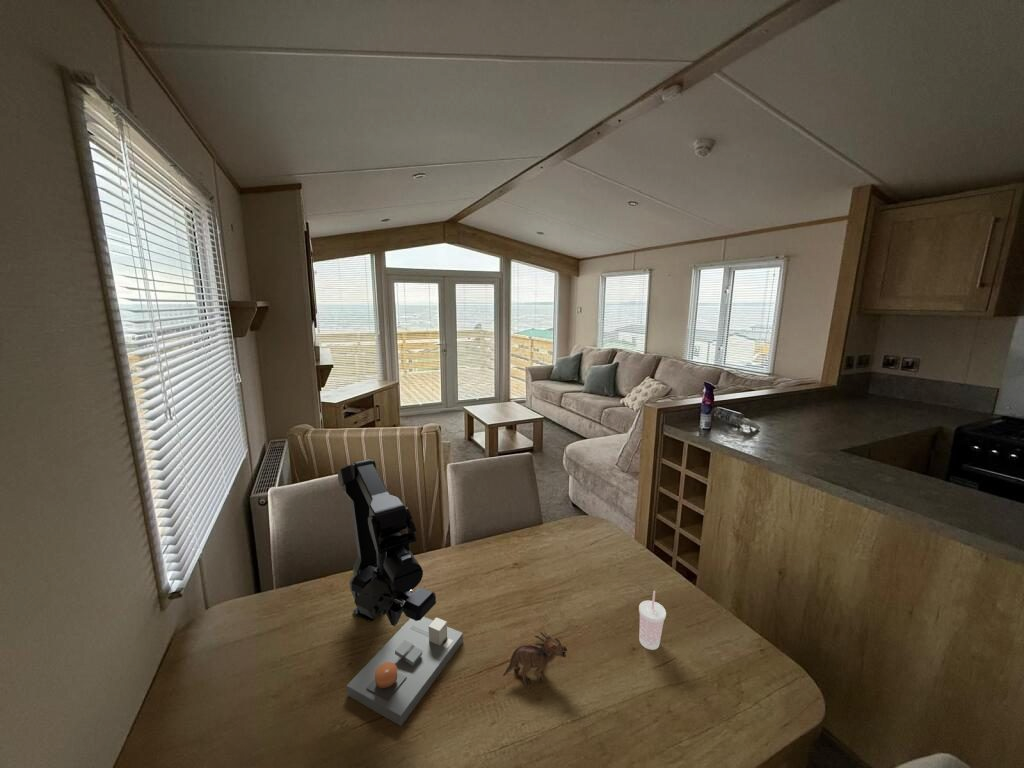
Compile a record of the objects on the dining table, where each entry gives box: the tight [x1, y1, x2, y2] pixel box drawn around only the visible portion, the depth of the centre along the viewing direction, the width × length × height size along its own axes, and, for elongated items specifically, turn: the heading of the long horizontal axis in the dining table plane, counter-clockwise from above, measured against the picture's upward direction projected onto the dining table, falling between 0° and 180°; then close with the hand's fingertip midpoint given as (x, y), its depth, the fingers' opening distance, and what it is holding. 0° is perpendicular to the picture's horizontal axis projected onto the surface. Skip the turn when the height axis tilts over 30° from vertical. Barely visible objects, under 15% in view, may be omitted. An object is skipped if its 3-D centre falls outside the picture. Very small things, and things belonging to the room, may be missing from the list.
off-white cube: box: [429, 617, 448, 646], centre depth 97 cm, size 3×3×4 cm
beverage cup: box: [638, 590, 667, 651], centre depth 99 cm, size 6×6×14 cm
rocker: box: [395, 640, 423, 666], centre depth 92 cm, size 5×3×1 cm, turn 65°
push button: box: [375, 662, 398, 688], centre depth 85 cm, size 4×4×3 cm
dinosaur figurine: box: [502, 631, 568, 686], centre depth 91 cm, size 14×6×9 cm, turn 99°
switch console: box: [346, 616, 464, 727], centre depth 92 cm, size 14×22×3 cm, turn 154°
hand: (394, 624), depth 90 cm, fingers closed
